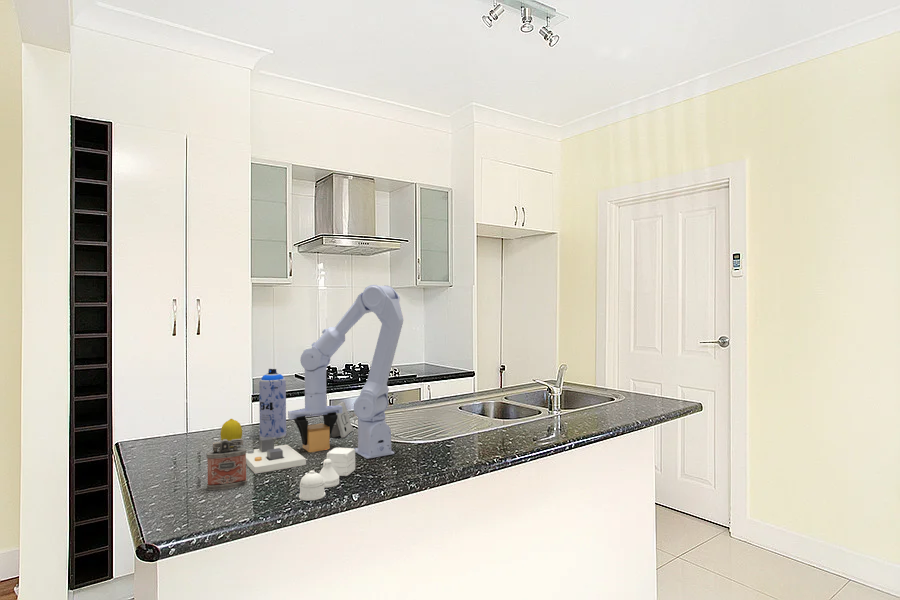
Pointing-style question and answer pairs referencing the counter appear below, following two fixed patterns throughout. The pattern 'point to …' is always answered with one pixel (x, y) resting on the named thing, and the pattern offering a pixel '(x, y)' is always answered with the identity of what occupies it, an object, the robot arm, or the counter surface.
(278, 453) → the button
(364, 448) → the robot arm
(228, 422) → the lemon
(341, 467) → the container set
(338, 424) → the electrical switch
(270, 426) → the aerosol can
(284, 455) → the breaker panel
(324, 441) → the small cardboard box
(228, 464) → the lighter
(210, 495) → the counter surface
